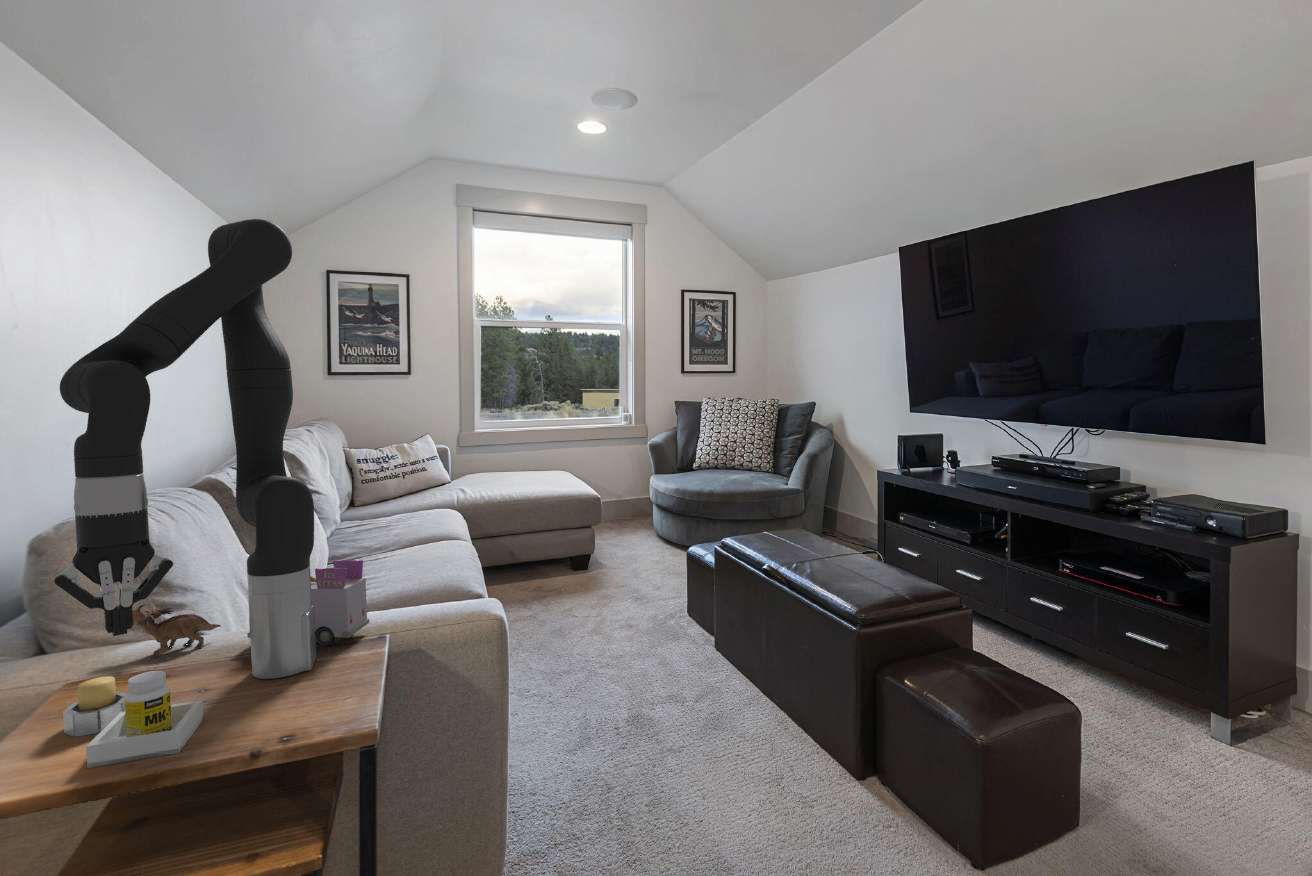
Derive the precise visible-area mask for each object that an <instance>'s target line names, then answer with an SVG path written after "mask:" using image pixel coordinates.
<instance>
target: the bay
mask: <svg viewBox="0 0 1312 876" xmlns="http://www.w3.org/2000/svg"><path fill="white" fill-rule="evenodd" d="M203 703H204V701H203V700H194V701H187V702H180V703H174V704H171V723H172V724H171V725H172V730H170V731H164V732H157V733H151V734H145V735H139V736H132V737H127V735H126V714H125V712H120V713H119V714H118V715H117V716H116V717H115V718H114V719H113V720H112V721H111V722H110V723H109V724H108V725H107V726H106V727H105V728H104V729H103V730H102V731H101V732H99V733H97V735H95V737H94V738H93V739H92V740H91V741H90V742H89V743H88V744H87V745H86V746H85V751H86V752H85V753H86V755H85V756H86V767H87V769H93V768H98V767H103V766H110V765H114V764H120V763H121V764H122V763H127V762H131V761H132V762H133V761H140V760H144V759H151V758H158V757H161V756H167V755H175V754H180V753H181V751H182V750H183V749H184V747H185V746H186V744H187V743H188V741H189V740H190V739H191V737H192V736H193V735H194V733H195V732H196V730H197V729H198V727H199V726H200V725H201V724H202V722H203V720H204V704H203Z"/></svg>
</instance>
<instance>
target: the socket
mask: <svg viewBox="0 0 1312 876" xmlns="http://www.w3.org/2000/svg"><path fill="white" fill-rule="evenodd" d="M127 694H128V693H126V692H124V691H116V700H115V701H114V702H112V703H110V704H108V705H106V706H103V707H99V708H95V709H88V710H82V709H79V703H78V700H76V701H75V702H73V703H71V704H70V705H69V706H68V707H66V708H65V709H64V710H63V711H62V716H63V731H64V734H66V735H68V736H71V737H73V738H74V737H76V738H77V737H82V736H89V735H94V734H95V735H96V734H99V733H100V732H101V731H102V730H103V729H104V728H105V727H106V726H107V725H108V724H109V723H110V722H111V721H112V720H113V719H114V718H115V717H116V716H117V715H118V714H119V713H120V712H125V697H126V695H127Z"/></svg>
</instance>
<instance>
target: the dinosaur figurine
mask: <svg viewBox="0 0 1312 876" xmlns="http://www.w3.org/2000/svg"><path fill="white" fill-rule="evenodd" d="M143 607H145V604H141V605H139V606H138V607H137V608H136V609H132V613H133V626H134V625H136V626H139V627H140V628H142V629H143V630H144V631H145V633H146V634H148V635H150V636H152V637H154V639H155V641H156V642H157V643H159V646H160V647H159V648H157V649H156V650H154V651H153V654H152V655H151V656H148V657H147V659H148V660H153V659H156V658H157V657H158V656H159V654H160V653H162V652H164V651H167V650H169V649H171V648H173V647H174V646H176V645H175V643H176V641H177V640H180V639H181V640H182V639H186V638H187V639H188V641H187V643H186V642H185V643H183V646H187V645H186V644H189V645H191V643H192V644H193V643H195V642H194V641H197V642H198V643H197V644H196V646H195V647H194V649H195V650H198V649H199V650H200V649H202V648H203V647H204V644H205V642H204V641H205V640H204V639H205V638H204V636H201V635H200V634H199V633H198V632H202V631H203V632H204V631H205V632H206V631H207V632H209V631H213V630H214V629H216V628H221V627H222V625H221V624H219V623H218V624H215V623H210V622H209V621H208V620H206V618H204V617H202V616H201V615H197V614H195V613H187V614H186V613H185V614H177V615H174V616H171V617H169V618H166V619H165V620H163V621H161V622H159V623H156V622H155V619H157V618H160V617H161V616H162V615H164V616H165V615H172V614H173V613H174V610H172V607H165V608H160V609H157V608H155V611H154V610H151V612H150V611H149V610H145V611H142V610H141V609H142V608H143ZM169 641H170V642H169ZM168 642H169V645H168ZM168 646H169V647H168ZM172 646H173V647H172ZM170 647H171V648H170ZM168 648H169V649H168Z"/></svg>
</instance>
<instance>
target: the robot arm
mask: <svg viewBox="0 0 1312 876" xmlns="http://www.w3.org/2000/svg"><path fill="white" fill-rule="evenodd" d="M207 254H208V256H207V257H208V260H209V261H208V262H209V265H210V266H209V267H208V268H206V269H205V270H203V271H202V272H201V273H199V274H198V275H196V276H195V277H193V278H191V279H190V280H189V281H187V282H185V283H184V284H183V283H182V284H181V285H180V286H178V287H176V288H174V289H173V290H171V291H170V292H168V293H166V294H164V295H163V296H162V297H160V298H159V299H158V300H156V301H155V302H153V303H152V304H151V305H150V306H149V307H148V308H146V309H145V310H144V311H143V312H142V313H140V315H138V316H137V317H136V318H135V319H133V320H132V321H131V322H130V323H129V324H128V325H127V326H126V327H125V328H124V329H123V330H122V331H121V332H120V333H118V334H117V335H116V336H114V337H113V338H110V339H109V340H107V341H106V342H103V343H102V344H101V345H99V346H97V347H95V349H93V350H91V351H90V352H88V353H87V354H85V355H84V356H82V357H81V358H80V359H78V360H77V361H75V362H74V363H73V364H72V365H71V366H70V367H69V368H68V369H67V370H66V371H65V372H64V374H63V376H62V378H61V379H60V381H59V382H60V384H59V394H60V396H61V398H62V400H63V401H64V403H65V404H66V405H67V406H68V407H70V408H72V409H73V410H75V411H77V412H81V413H85V414H87V415H88V416H87V425H86V431H85V432H84V433H82V434H80V435H79V436H77V438H75V441H74V446H73V461H74V477H75V478H74V480H75V481H74V489H73V490H74V491H73V503H74V505H73V509H74V520H75V522H74V523H75V536H76V537H75V538H76V539H75V540H76V552H75V555H74V556H73V558H72V564H71V565H69V567H67V568H66V569H64V570H63V571H61V572H59V573H56V574H55V575H54V576H53V578H52V579H53V583H54V585H56V586H57V587H59V588H60V589H62V590H63V591H64V592H66V593H67V594H69V595H70V596H71V597H73V598H74V599H75V600H77V601H78V602H80V603H81V604H82V605H84V606H85V607H86V608H88V609H91V610H93V609H100V610H103V613H104V614H103V615H104V616H103V617H104V628H105V631H106V632H107V633H108V634H112V636H113V637H116V636H122V635H127V634H128V630H131V629H132V628H133V626H134V625H133V613H132V611H133V606H134V604H136V603H137V602H139V601H141V600H146V599H147V598H148V597H149V596H150V595H151V593H152V592H153V591H154V590H155V589H156V587H157V586H158V585H159V584H160V582H161V581H163V579H164V577H165V576H166V575H167V574H168V572H169V571H170V570H171V569H172V568H173V566H174V562H173V560H172V559H170V558H169V557H163V556H161V555H159V554H156V551H155V548H154V547H153V546H152V544H151V542H150V530H149V529H150V526H149V510H148V508H149V507H148V505H149V498H148V491H147V486H146V481H145V475H144V460H143V450H142V441H143V438H144V435H145V432H146V431H145V430H146V426H147V422H148V417H149V411H150V406H151V389H150V385H149V381H148V380H147V377H148V376H149V375H151V374H152V373H156V372H157V371H161V370H163V369H166V368H168V367H170V366H171V365H172V364H174V363H175V362H177V360H178V359H179V358H180V357H181V356H182V355H183V354H185V353H186V352H187V351H188V350H189V348H190V347H191V346H192V345H194V343H195V342H196V341H197V340H198V339H199V338H200V337H202V335H204V334H205V333H206V331H208V330H209V329H210V328H211V326H213V325H214V324H215V323H216V322H217V321H219V320H221V328H222V329H221V330H222V338H223V339H222V340H223V344H224V345H223V346H224V352H225V368H226V369H225V370H226V378H227V379H226V380H227V388H228V395H229V401H230V402H229V403H230V411H231V419H232V425H233V427H232V428H233V435H234V443H235V451H236V452H235V453H236V454H235V455H236V456H235V457H236V459H235V460H236V464H235V465H236V475H235V476H236V477H235V478H236V479H235V502H236V503H235V504H236V508H237V509H236V510H237V512H238V515H239V516H240V518H241V519H242V520H243V521H244V522H245V523H247V524H248V525H250V526H251V527H254V528H255V548H254V550H253V553H251V554H250V555H249V556H248V557H247V560H246V571H247V574H246V575H247V591H248V592H247V595H248V614H249V618H248V620H249V619H250V628H249V632H250V638H249V639H250V654H251V655H250V656H251V673H252V676H253V677H254V678H257V679H261V680H262V679H263V680H270V679H280V678H285V677H286V678H287V677H289V676H293V675H296V674H299V673H302V672H307V671H312V669H313V667H314V665H315V662H316V660H317V643H316V642H317V641H316V635H315V612H314V606H313V605H312V602H311V579H310V576H311V555H312V553H313V549H314V546H315V505H314V504H315V503H314V499H313V495H312V492H311V489H310V487H309V486H308V485H307V484H306V483H305V482H303V481H302V480H301V479H299V478H295V477H292V476H288V475H287V471H286V466H285V465H286V464H285V458H284V457H285V456H284V440H285V439H284V438H285V434H286V430H287V425H288V422H289V420H290V415H291V412H292V408H293V407H292V406H293V400H294V388H293V375H292V369H291V368H292V367H291V360H290V357H289V354H288V352H287V350H286V347H285V345H284V344H283V342H282V340H281V338H280V337H279V335H278V334H277V332H276V330H275V329H274V327H273V325H272V324H271V322H270V320H269V318H268V315H267V312H266V309H265V302H264V294H263V293H264V291H263V285H264V284H266V283H267V282H269V281H271V280H273V278H275V277H276V276H278V275H280V274H281V273H282V272H284V271H285V270H287V268H288V267H289V265H290V263H291V260H292V257H293V247H292V243H291V240H290V237H289V236H288V235H287V233H286V231H284V230H283V229H282V228H281V227H280V226H279V225H277V224H276V223H274V222H272V221H270V220H266V219H260V218H259V219H258V218H252V219H251V218H250V219H244V220H240V221H235V222H231V223H227V224H223V225H220V226H218V227H216V228H215V229H214V230H213V231H212V232H211V234H210V236H209V238H208V242H207ZM149 563H151V564H149ZM148 564H149V569H150V570H151V571H149V574H147V576H146V577H145V579H143V581H142V582H141V583H140V584H139V586H138V587H137V588H136V589H135V590H134V586H135V585H134V582H135V580H136V578H138V577H139V576H140V574H142V572H143V571H144V570H145V568H146V567H147V566H148ZM78 572H79V573H81V574H82V575H84V576H85V577H86V578H87V579H88V580H90V582H92V583H94V584H96V585H98V586H99V589H100V596H95V595H93V594H92V593H91V592H89V591H88V590H86V589H85V588H84V587H83V586H81V585H80V584H79V582H80V577H79V575H78ZM114 583H118V605H117V599H116V594H115V586H114ZM315 659H316V660H315Z"/></svg>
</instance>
